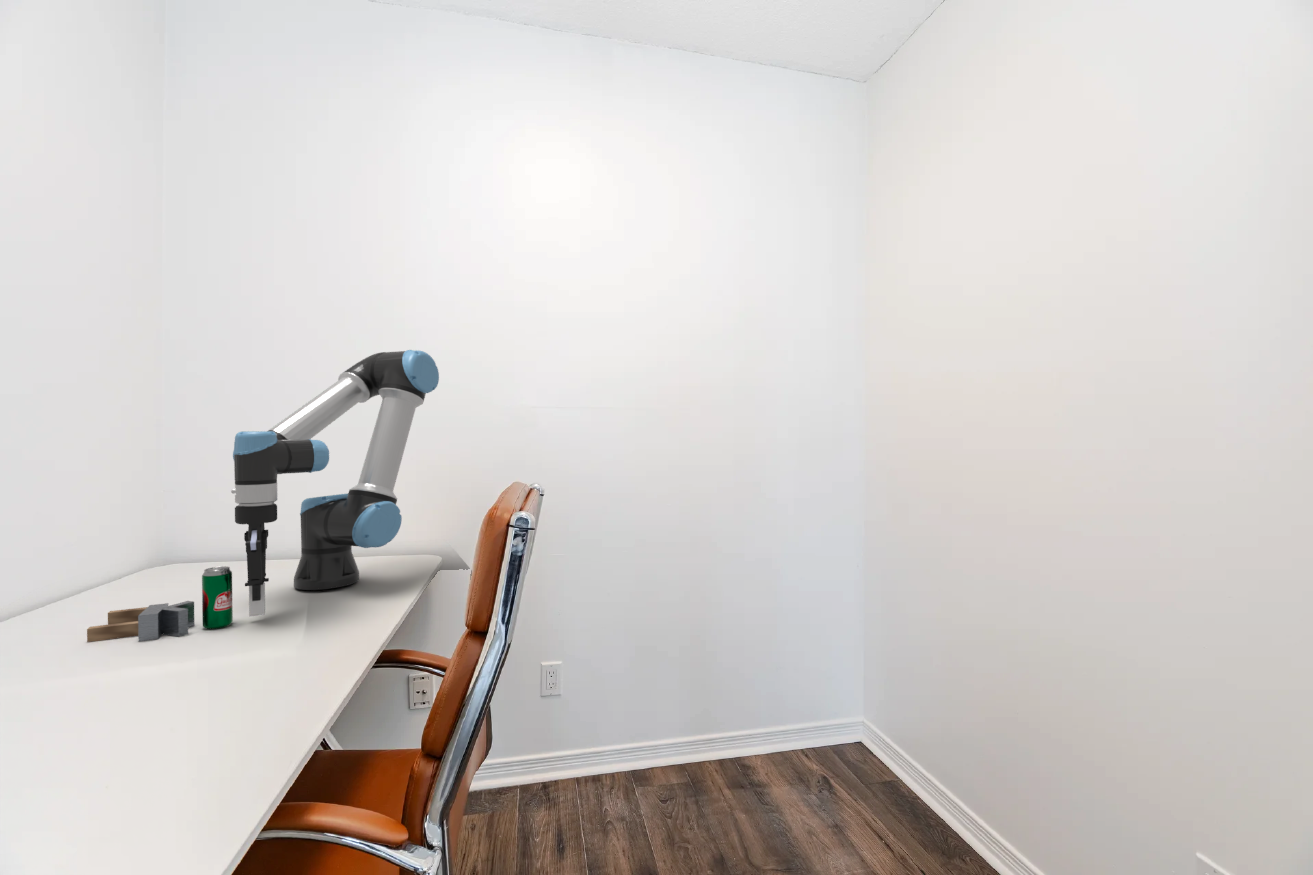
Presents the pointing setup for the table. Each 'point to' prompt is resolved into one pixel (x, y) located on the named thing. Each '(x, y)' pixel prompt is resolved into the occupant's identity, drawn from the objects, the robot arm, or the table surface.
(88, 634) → the channel
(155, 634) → the v block
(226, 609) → the soda can
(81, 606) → the table surface
